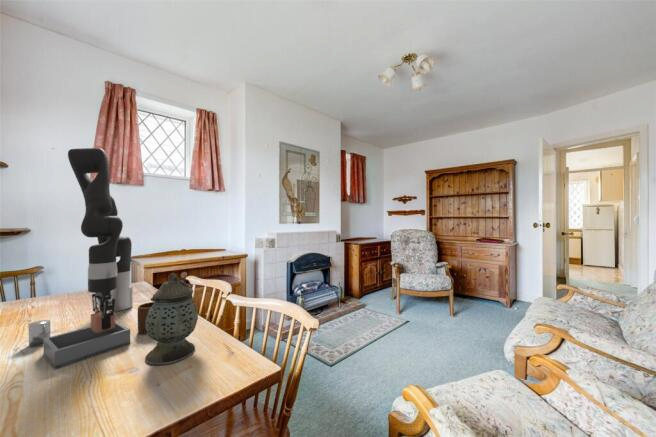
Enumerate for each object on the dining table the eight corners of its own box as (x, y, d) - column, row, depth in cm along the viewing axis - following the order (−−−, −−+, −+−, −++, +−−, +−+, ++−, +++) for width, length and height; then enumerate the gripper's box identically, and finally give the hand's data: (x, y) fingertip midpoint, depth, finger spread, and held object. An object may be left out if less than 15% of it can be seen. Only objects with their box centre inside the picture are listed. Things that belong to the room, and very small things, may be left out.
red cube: (109, 324, 93) (109, 310, 93) (115, 327, 90) (114, 312, 90) (91, 329, 89) (90, 314, 89) (96, 333, 86) (95, 317, 86)
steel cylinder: (48, 338, 94) (48, 318, 94) (52, 342, 91) (51, 321, 91) (27, 344, 90) (27, 323, 90) (30, 348, 87) (30, 327, 87)
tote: (114, 333, 98) (114, 320, 98) (130, 344, 90) (130, 329, 90) (43, 354, 83) (43, 338, 83) (54, 369, 75) (54, 351, 75)
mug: (172, 330, 100) (172, 305, 100) (150, 338, 94) (150, 311, 94) (155, 324, 107) (155, 300, 106) (133, 331, 100) (133, 306, 100)
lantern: (151, 347, 88) (151, 270, 88) (199, 339, 93) (199, 267, 93) (138, 370, 75) (138, 280, 75) (195, 360, 80) (194, 276, 80)
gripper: (124, 276, 89) (125, 327, 89) (109, 271, 97) (109, 318, 97) (95, 280, 82) (96, 336, 82) (81, 275, 91) (81, 325, 91)
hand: (103, 326), depth 90 cm, fingers closed on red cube, 5 cm apart
